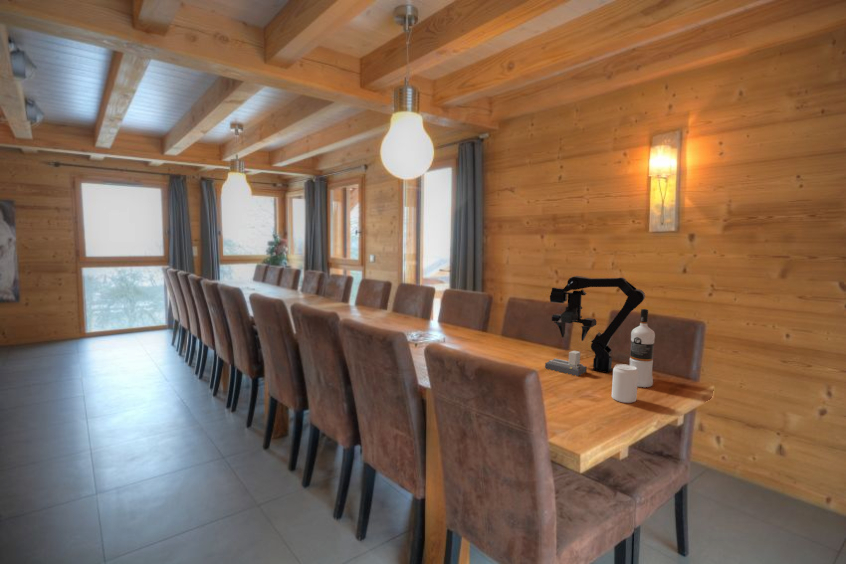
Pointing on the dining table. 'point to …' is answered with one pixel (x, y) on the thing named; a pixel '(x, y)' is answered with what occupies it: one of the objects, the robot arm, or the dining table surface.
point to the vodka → (642, 351)
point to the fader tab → (574, 358)
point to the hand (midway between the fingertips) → (572, 338)
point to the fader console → (565, 367)
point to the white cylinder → (624, 383)
